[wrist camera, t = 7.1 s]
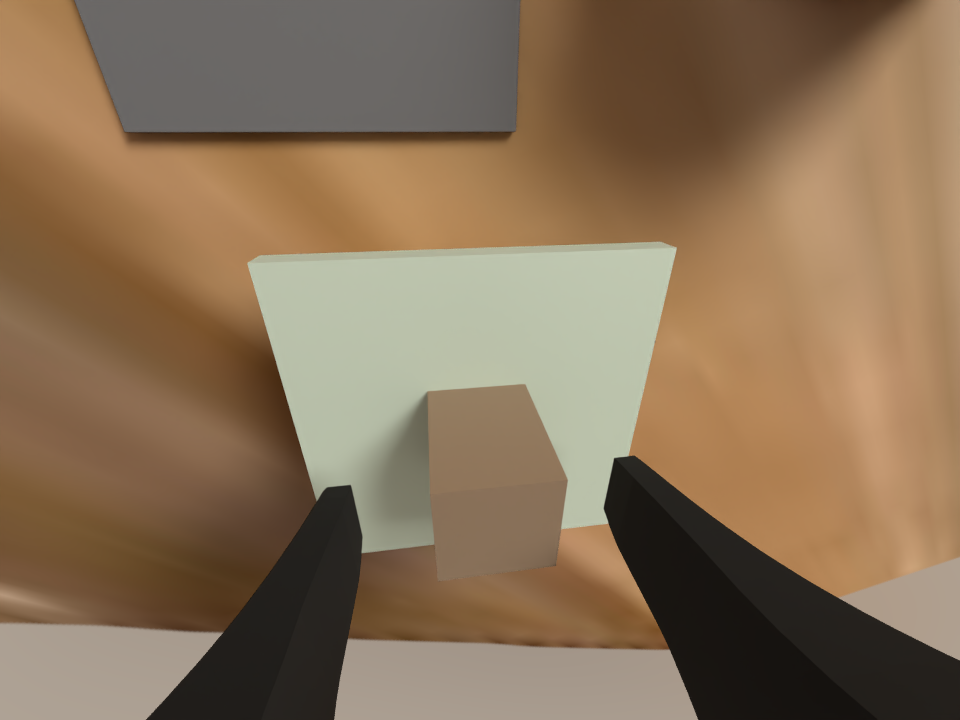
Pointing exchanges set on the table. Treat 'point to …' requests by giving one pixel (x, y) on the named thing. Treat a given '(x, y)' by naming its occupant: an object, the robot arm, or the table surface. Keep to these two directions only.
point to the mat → (308, 64)
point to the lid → (466, 387)
